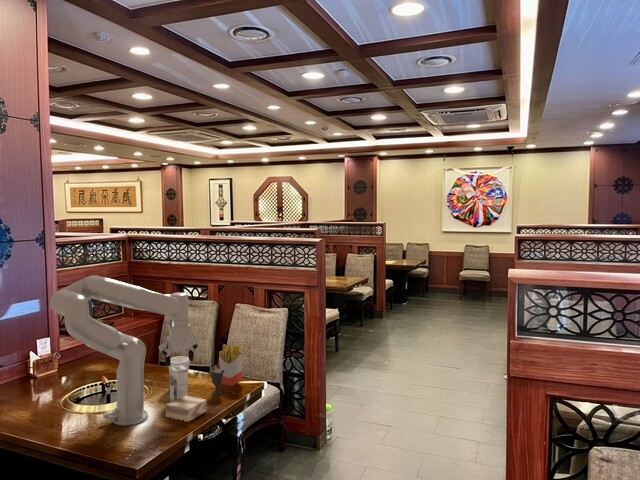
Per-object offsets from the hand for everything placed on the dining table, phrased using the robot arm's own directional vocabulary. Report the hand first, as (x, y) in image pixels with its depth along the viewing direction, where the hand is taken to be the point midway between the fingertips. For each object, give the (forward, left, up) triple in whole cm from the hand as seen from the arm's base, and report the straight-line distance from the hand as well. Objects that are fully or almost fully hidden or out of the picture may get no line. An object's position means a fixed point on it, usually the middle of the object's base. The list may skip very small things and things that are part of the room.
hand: (179, 362), depth 196 cm
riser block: (-3, -13, -17) cm, 21 cm away
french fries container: (+26, +6, -17) cm, 32 cm away
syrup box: (-1, 0, -17) cm, 17 cm away
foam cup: (+5, +15, -17) cm, 23 cm away
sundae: (+16, -1, -17) cm, 23 cm away
